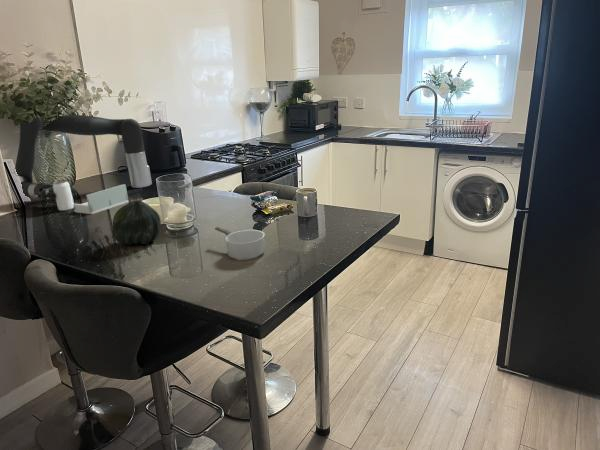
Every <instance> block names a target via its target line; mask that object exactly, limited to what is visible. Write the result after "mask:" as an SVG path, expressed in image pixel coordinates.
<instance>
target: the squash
mask: <svg viewBox="0 0 600 450" xmlns="http://www.w3.org/2000/svg"><path fill="white" fill-rule="evenodd" d="M111 222H112V223H111V224H112V226H111V231H112V235H113V237H114V239H115V240H116V241H117V242H118V243H119V244H122V245H133V244H134V245H138V244H141V245H147V244H149V243H151V242H153V241H155V240H156V239H157V237H158V236H159V234H160V230H161V226H162V225H161V224H162V221H161V216H160V215H159V213H158V212H157V210H155V209H154V208H153V207H151V206H150V205H149V204H148V203H146V202H144V201H142V200H140V199H139V200H138V199H137V200H132V201H131V202H130V201H129V202H128V203H126V204H124V205H123V206H122V207H120V208H119V209H118V210H117V211H116V212H115V214H114V215H113V218H112V221H111Z"/></svg>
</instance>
